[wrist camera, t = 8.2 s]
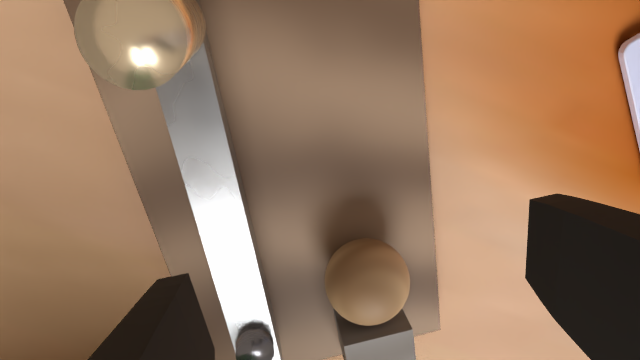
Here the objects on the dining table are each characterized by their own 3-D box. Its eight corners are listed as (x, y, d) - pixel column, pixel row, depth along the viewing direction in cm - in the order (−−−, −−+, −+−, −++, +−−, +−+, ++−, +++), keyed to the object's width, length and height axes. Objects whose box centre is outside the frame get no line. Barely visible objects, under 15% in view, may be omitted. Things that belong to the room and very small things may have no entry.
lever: (284, 340, 21) (298, 469, 15) (240, 350, 21) (236, 484, 15) (201, -19, 14) (170, -29, 8) (135, -9, 14) (56, -13, 8)
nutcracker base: (431, 314, 23) (467, 376, 20) (215, 367, 23) (209, 443, 19) (398, -115, 15) (449, -153, 11) (55, -56, 14) (-15, -75, 10)
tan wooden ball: (373, 209, 19) (399, 253, 16) (406, 264, 20) (436, 316, 17) (304, 249, 19) (315, 301, 16) (341, 301, 21) (359, 359, 17)
